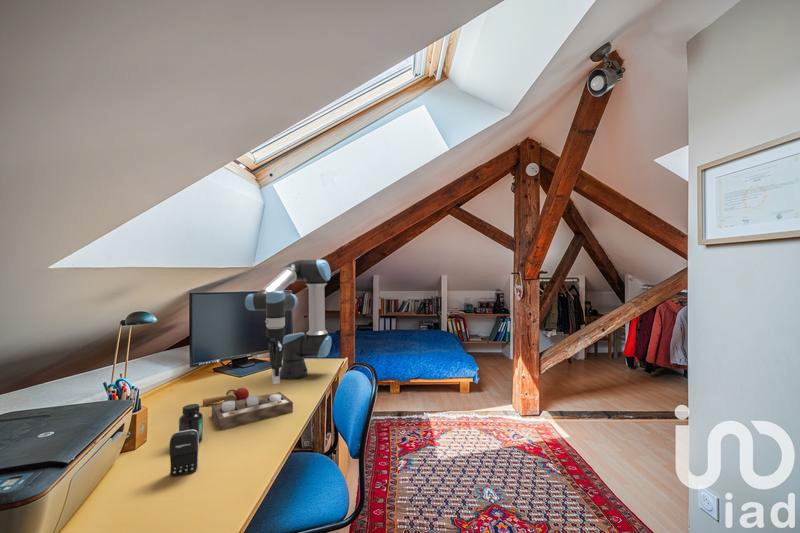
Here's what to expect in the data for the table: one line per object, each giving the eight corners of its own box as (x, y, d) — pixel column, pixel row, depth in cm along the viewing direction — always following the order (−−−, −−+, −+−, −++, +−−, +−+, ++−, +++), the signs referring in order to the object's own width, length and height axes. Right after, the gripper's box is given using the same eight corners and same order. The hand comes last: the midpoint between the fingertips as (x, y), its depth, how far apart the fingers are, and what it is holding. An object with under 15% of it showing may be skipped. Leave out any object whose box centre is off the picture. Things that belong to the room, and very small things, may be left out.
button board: (279, 400, 155) (279, 391, 155) (292, 411, 142) (292, 401, 142) (211, 416, 138) (211, 405, 138) (219, 430, 125) (219, 418, 125)
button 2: (279, 404, 149) (279, 393, 149) (282, 407, 145) (282, 396, 145) (268, 406, 146) (268, 395, 146) (271, 409, 142) (271, 398, 142)
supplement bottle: (206, 440, 117) (206, 405, 118) (185, 449, 112) (185, 411, 112) (195, 435, 121) (196, 401, 121) (174, 443, 115) (175, 407, 116)
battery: (167, 479, 95) (168, 437, 95) (170, 472, 98) (170, 432, 99) (197, 473, 98) (197, 432, 98) (198, 466, 101) (199, 427, 102)
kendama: (202, 412, 145) (248, 401, 152) (200, 397, 146) (246, 386, 152) (206, 409, 152) (250, 398, 159) (204, 395, 153) (248, 384, 160)
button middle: (257, 406, 143) (257, 395, 143) (260, 409, 140) (260, 398, 140) (245, 408, 140) (245, 397, 141) (248, 412, 137) (248, 400, 137)
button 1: (233, 411, 138) (233, 399, 138) (236, 414, 134) (236, 403, 134) (220, 414, 135) (220, 402, 135) (223, 418, 131) (223, 406, 131)
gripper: (261, 326, 149) (262, 381, 149) (271, 330, 139) (271, 389, 139) (279, 324, 154) (279, 377, 154) (289, 328, 143) (290, 385, 143)
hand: (275, 383), depth 146 cm, fingers closed
